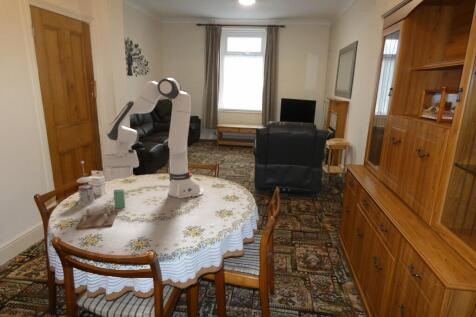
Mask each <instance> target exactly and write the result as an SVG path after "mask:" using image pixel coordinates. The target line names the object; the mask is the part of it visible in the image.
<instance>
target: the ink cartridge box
mask: <svg viewBox="0 0 476 317" xmlns="http://www.w3.org/2000/svg"><path fill="white" fill-rule="evenodd" d="M88 177H90V178H92V181H90V182H87V185H88V184H89V185H92V187H93V191H94V192H93V193H94V196H98V195H100V197H102V196H104V195H106V193H107V190H106V188H107V187H106V179H105V178H106V177H105V171H103V170H91V175H90V176H88ZM88 191H90V190H88Z"/></svg>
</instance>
